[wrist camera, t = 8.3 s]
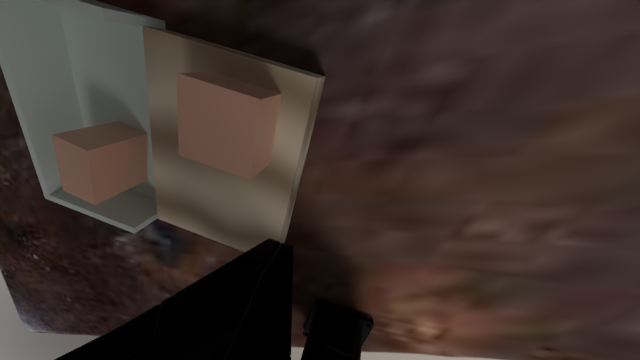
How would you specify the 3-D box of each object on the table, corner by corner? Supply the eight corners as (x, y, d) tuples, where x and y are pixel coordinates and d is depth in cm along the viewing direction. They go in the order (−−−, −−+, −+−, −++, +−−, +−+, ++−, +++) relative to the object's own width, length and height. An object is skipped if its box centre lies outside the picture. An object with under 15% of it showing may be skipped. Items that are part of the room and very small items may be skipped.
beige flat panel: (284, 245, 24) (274, 263, 22) (177, 205, 25) (157, 218, 23) (325, 76, 17) (316, 78, 15) (171, 30, 18) (142, 25, 16)
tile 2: (94, 205, 20) (62, 190, 20) (147, 179, 24) (121, 167, 24) (87, 150, 17) (51, 134, 18) (147, 133, 22) (118, 120, 22)
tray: (173, 207, 26) (134, 233, 22) (95, 178, 26) (45, 198, 23) (165, 20, 18) (102, 7, 14) (56, -12, 19) (-33, -33, 15)
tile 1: (269, 163, 18) (250, 180, 15) (208, 142, 18) (178, 155, 16) (281, 93, 16) (260, 99, 13) (210, 71, 16) (176, 72, 13)
